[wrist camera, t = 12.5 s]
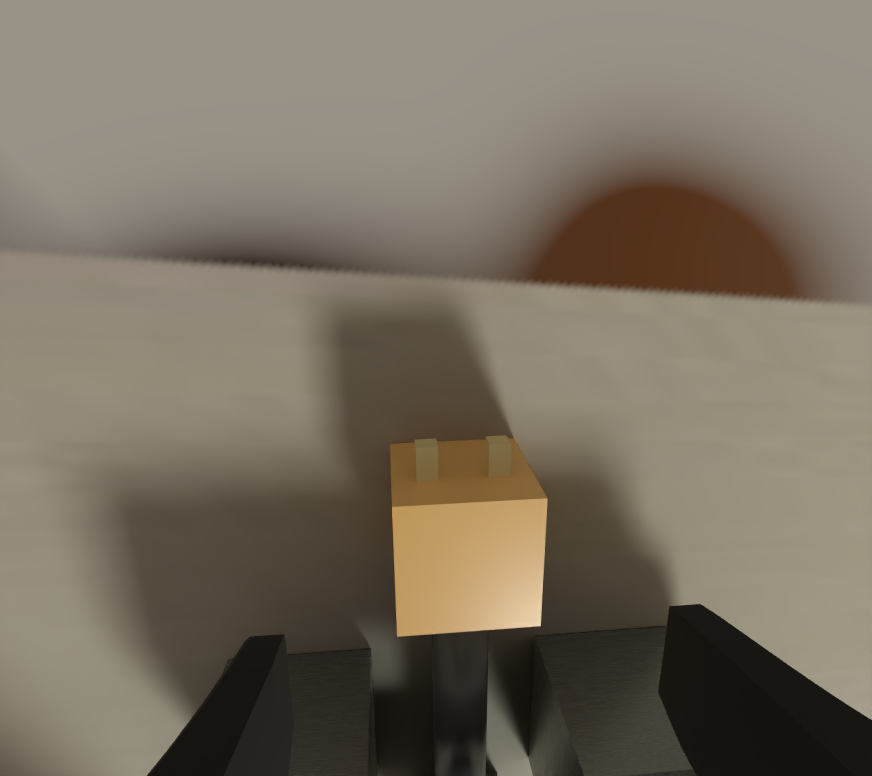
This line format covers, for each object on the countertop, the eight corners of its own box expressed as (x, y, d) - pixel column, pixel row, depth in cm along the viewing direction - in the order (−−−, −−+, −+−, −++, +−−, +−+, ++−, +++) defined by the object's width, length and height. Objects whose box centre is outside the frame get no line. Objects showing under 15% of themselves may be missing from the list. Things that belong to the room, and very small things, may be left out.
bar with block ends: (501, 824, 24) (530, 978, 19) (405, 834, 24) (411, 993, 19) (514, 408, 18) (561, 480, 13) (388, 414, 18) (391, 490, 13)
